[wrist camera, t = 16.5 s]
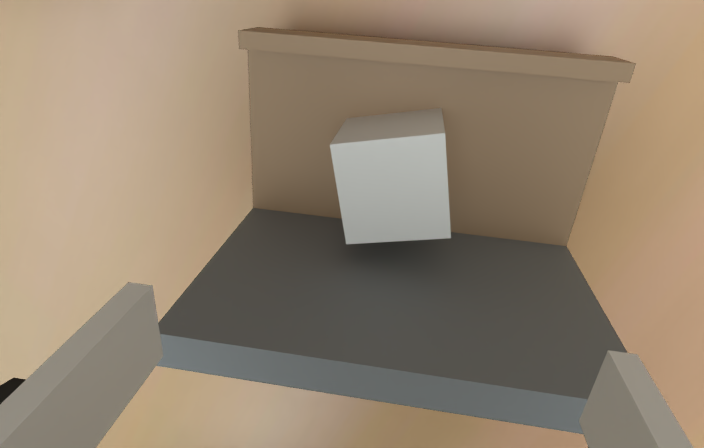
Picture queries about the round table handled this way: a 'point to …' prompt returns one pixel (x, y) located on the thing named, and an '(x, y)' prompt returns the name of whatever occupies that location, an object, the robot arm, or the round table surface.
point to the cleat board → (417, 255)
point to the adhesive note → (392, 177)
